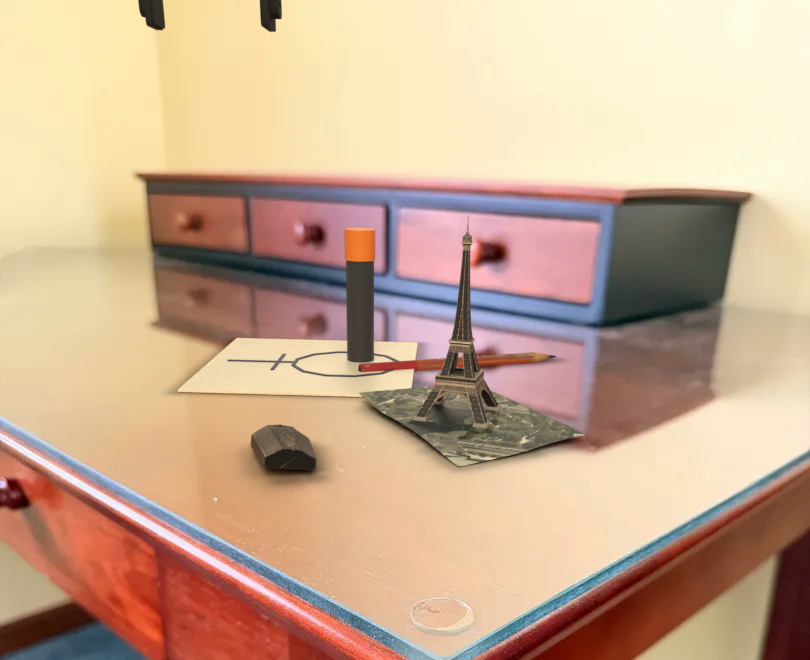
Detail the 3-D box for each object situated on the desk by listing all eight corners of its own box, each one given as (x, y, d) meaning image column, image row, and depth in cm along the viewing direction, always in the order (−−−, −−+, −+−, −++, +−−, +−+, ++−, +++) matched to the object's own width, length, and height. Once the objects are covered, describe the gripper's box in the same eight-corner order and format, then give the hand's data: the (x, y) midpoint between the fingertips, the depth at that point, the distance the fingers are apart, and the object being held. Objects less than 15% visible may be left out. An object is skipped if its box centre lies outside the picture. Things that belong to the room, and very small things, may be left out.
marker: (344, 362, 72) (342, 229, 68) (347, 356, 75) (345, 227, 70) (373, 363, 72) (373, 230, 68) (376, 356, 75) (376, 228, 70)
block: (262, 481, 46) (261, 451, 45) (249, 448, 51) (247, 420, 51) (325, 476, 47) (325, 446, 46) (306, 443, 52) (305, 416, 52)
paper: (177, 392, 63) (177, 388, 63) (236, 339, 81) (236, 336, 81) (410, 398, 63) (410, 394, 63) (417, 344, 81) (417, 341, 81)
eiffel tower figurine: (591, 444, 53) (619, 225, 48) (458, 466, 49) (471, 229, 43) (469, 387, 65) (480, 206, 59) (353, 401, 61) (352, 208, 55)
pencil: (360, 376, 69) (360, 365, 69) (356, 373, 70) (356, 362, 70) (558, 362, 75) (559, 352, 75) (552, 360, 76) (553, 350, 76)
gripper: (60, -259, 59) (94, 21, 66) (299, -258, 58) (307, 23, 66) (99, -216, 66) (126, 33, 73) (314, -215, 65) (319, 36, 72)
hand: (212, 28), depth 69 cm, fingers open, 9 cm apart
